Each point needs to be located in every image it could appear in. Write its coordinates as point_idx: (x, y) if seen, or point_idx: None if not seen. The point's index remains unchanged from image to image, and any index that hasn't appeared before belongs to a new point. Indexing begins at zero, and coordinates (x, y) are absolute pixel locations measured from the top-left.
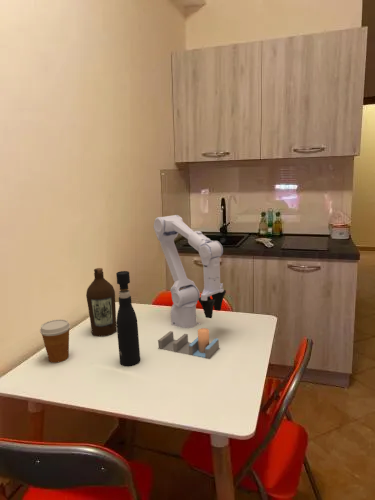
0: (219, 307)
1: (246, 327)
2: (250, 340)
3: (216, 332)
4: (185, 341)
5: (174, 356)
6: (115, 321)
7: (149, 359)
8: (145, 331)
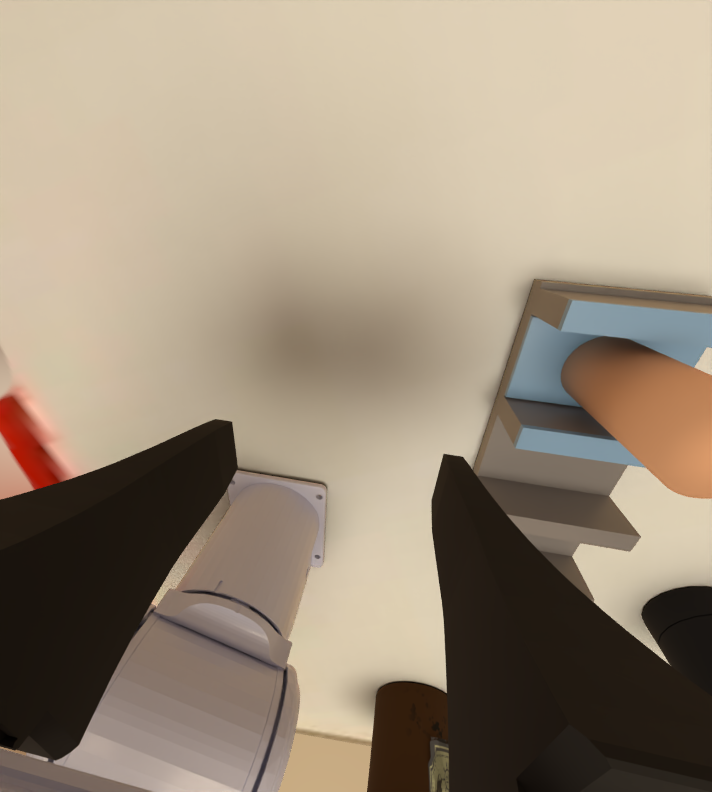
0: (211, 445)
1: (130, 205)
2: (314, 90)
3: (283, 373)
4: (510, 492)
5: (615, 490)
6: (407, 731)
7: (645, 567)
8: (379, 621)
